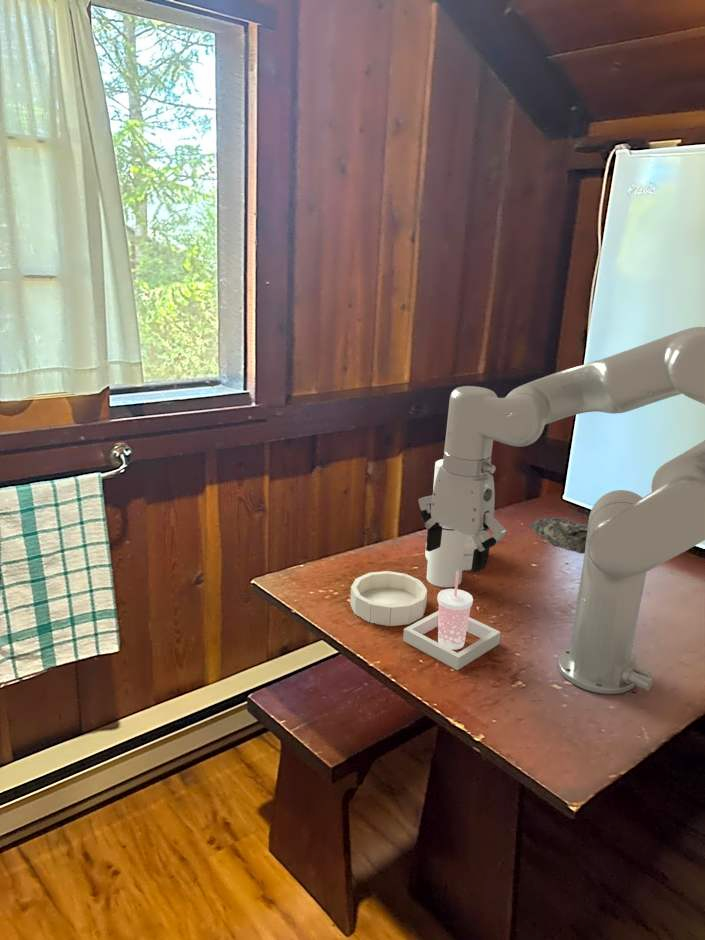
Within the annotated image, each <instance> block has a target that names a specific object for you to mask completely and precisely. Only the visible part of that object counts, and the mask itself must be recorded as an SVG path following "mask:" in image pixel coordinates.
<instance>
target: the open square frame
mask: <svg viewBox="0 0 705 940" xmlns="http://www.w3.org/2000/svg"><path fill="white" fill-rule="evenodd" d="M438 614H439V610H437V611H435V612H433V613H431V614H430V615H427V616H425V617H424V618H423V617H422V618H421V619H419V620H417V621H415V622H414V623H413V624H412V623H411V624H409V625H407V627H405V628H403V636H402V637H403V638H402V641H403V642H405V643H407V644H409V645H410V646H412V647H413V648H416V649H417V650H419V651H421V652H423V653H425V654H427V655H428V656H430V657H433V659H436V660H438V661H439V662H442V663H443V664H445V665H446V666H449V667H450V668H453V670H456V671H459V670H460V669H462V668H464V667H465V666H467V665H469V664H470V663H471V662H473V661H475V660H476V659H478V658H479V657H481V656H482V655H484V654H486V653H487V652H489V651H490V650H492V649H493V648H496V647H497V646H498V645H499V644H500V643H501V642H500V641H501V640H500V639H501V634H502V633H501V631H499V630H497V629H495V628H493V627H491V626H489V625H487V624H484V623H482V622H481V621H478V620H477V619H474V618H472V617H470V616H469V619H468V625H467V631H466V633H469V634H470V635H473V636H475V637H477V638H479V639H478V640H477V641H475V642H474V643H471V644H470V645H468V646H467V647H465V648H464V649H462V650H460V651H458V652H457V651H454V650H451V649H449V648H447V647H445V646H443V645H441V644H439V643H438V641H436V640H434V639H431V638H430V637H428V636H426V635H424V634H426V633H428V632H430V631H432V630H433V629H436V628H438Z"/></svg>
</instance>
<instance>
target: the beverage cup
mask: <svg viewBox="0 0 705 940" xmlns="http://www.w3.org/2000/svg"><path fill="white" fill-rule="evenodd" d="M458 577H459V570H456V579H455V586H454V588H445V589H442V590H441V591H439V592H438V594H437V596H436V597H437V599H436V600H437V603H438V611H439V614H438V627H437V630H438V631H437V643H439V644H441V645H443V646H445V647H447V648H449V649H451V650H453V651H454V650H459V649H462V648H463V647H464V645H465V642H466V636H467V625H468V619H469V617H470V613H471V608H472V605H473V602H474V597H473V595H472V594H471V593H469V592H468V591H465V590H462V589H458V588H459V585H458Z"/></svg>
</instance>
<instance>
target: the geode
mask: <svg viewBox="0 0 705 940" xmlns="http://www.w3.org/2000/svg"><path fill="white" fill-rule="evenodd" d="M529 528H530V529H531V530H532V532H533V533H535V534H536V535H537V536H540V537H541V538H543V539H546V540H548V541H549V543H550V544H551V545H552V546H553V547H557V548H560V549H564V550H566V551H571V552H575V553H578V554H585V546H586V539H587V530H588V524H577V523H575V522H572V521H569V520H567V519H565V518H560V519H559V518H558V517H554V516H551V517H542V518H537V519H536V520H533V521H532V522H531V523H530V524H529Z"/></svg>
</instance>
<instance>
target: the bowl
mask: <svg viewBox="0 0 705 940" xmlns="http://www.w3.org/2000/svg"><path fill="white" fill-rule="evenodd" d="M427 597H428V589H427V588H426V586H425V584H424V582H422V581H421V580H420V579H418V578H416V577H413V576H411V575H409V574H407V573H401V572H396V571H388V570H385V571H383V570H382V571H375V572H374V571H373V572H372V571H371V572H368V573H366V574H363V575H360V576H359V577H356V578H355V580H354V581H353V583H352V584H351V586H350V599H349V600H350V604H349V605H351V606H350V607H352V608H351V609H352V611H353V613H354V615H355V614H356V615H357V617H358V616H359V618H360V617H361V618H360V619H362V620H364V621H366V622H368V623H369V622H370V624H374V623H375V624H376V625H381V626H387V627H394V626H395V627H397V626H403V625H411V624H412V623H413V622H414V623H415V622H417V621H419V620H421V619H423V617H424V614H425V611H426V608H427V601H428V600H427V599H428V598H427ZM356 615H355V616H356Z"/></svg>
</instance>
